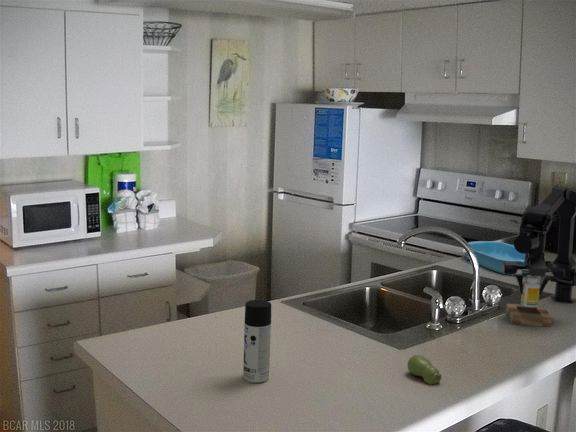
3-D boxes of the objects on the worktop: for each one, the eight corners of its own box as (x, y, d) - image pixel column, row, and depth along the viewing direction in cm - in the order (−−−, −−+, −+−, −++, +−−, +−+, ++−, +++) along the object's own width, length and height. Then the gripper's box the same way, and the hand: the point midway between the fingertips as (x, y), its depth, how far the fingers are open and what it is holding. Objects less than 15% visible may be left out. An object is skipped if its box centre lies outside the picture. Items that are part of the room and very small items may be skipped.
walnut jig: (505, 311, 234) (506, 303, 233) (542, 314, 232) (543, 305, 232) (512, 324, 222) (512, 315, 222) (551, 326, 221) (552, 318, 220)
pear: (420, 349, 184) (448, 368, 177) (416, 367, 186) (443, 386, 178) (405, 353, 181) (432, 373, 174) (401, 371, 183) (428, 391, 175)
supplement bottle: (517, 304, 227) (520, 275, 225) (526, 301, 230) (529, 273, 228) (532, 308, 223) (535, 279, 221) (541, 305, 226) (544, 277, 224)
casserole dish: (452, 256, 306) (454, 241, 304) (494, 253, 314) (495, 238, 312) (507, 280, 272) (509, 262, 271) (552, 276, 280) (554, 258, 279)
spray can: (242, 372, 180) (244, 299, 176) (269, 372, 180) (270, 299, 176) (243, 383, 173) (244, 307, 169) (270, 383, 174) (272, 307, 170)
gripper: (509, 252, 216) (505, 300, 219) (572, 256, 213) (566, 304, 217) (503, 244, 227) (499, 289, 230) (562, 247, 224) (557, 293, 227)
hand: (530, 294), depth 226 cm, fingers closed on supplement bottle, 5 cm apart
